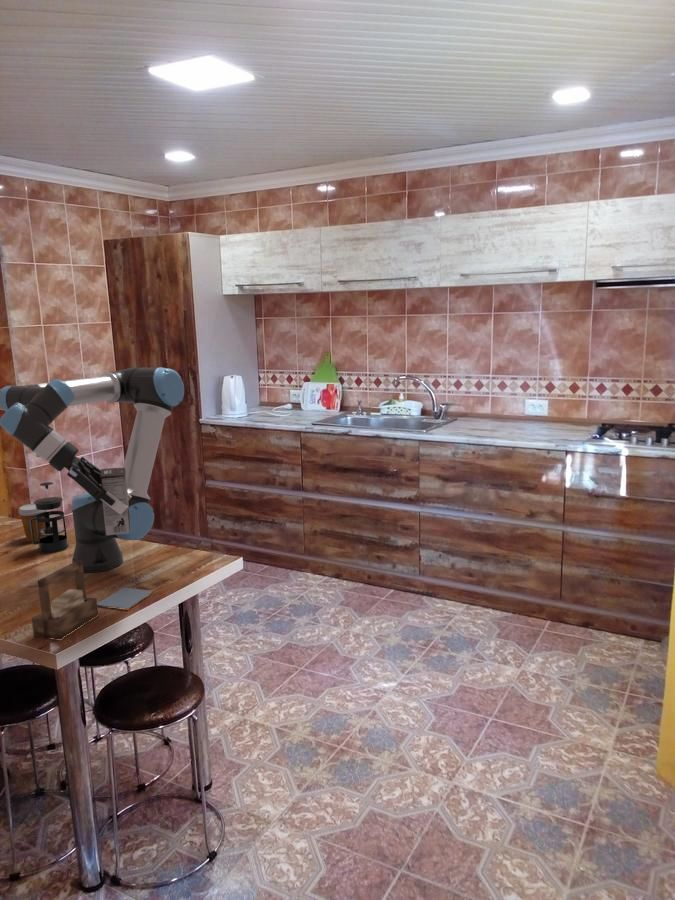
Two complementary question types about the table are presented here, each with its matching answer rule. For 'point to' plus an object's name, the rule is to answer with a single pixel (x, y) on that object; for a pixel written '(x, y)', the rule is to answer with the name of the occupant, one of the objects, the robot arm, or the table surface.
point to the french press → (52, 539)
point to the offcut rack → (63, 605)
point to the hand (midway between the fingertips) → (126, 505)
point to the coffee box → (117, 486)
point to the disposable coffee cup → (31, 512)
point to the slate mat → (124, 598)
